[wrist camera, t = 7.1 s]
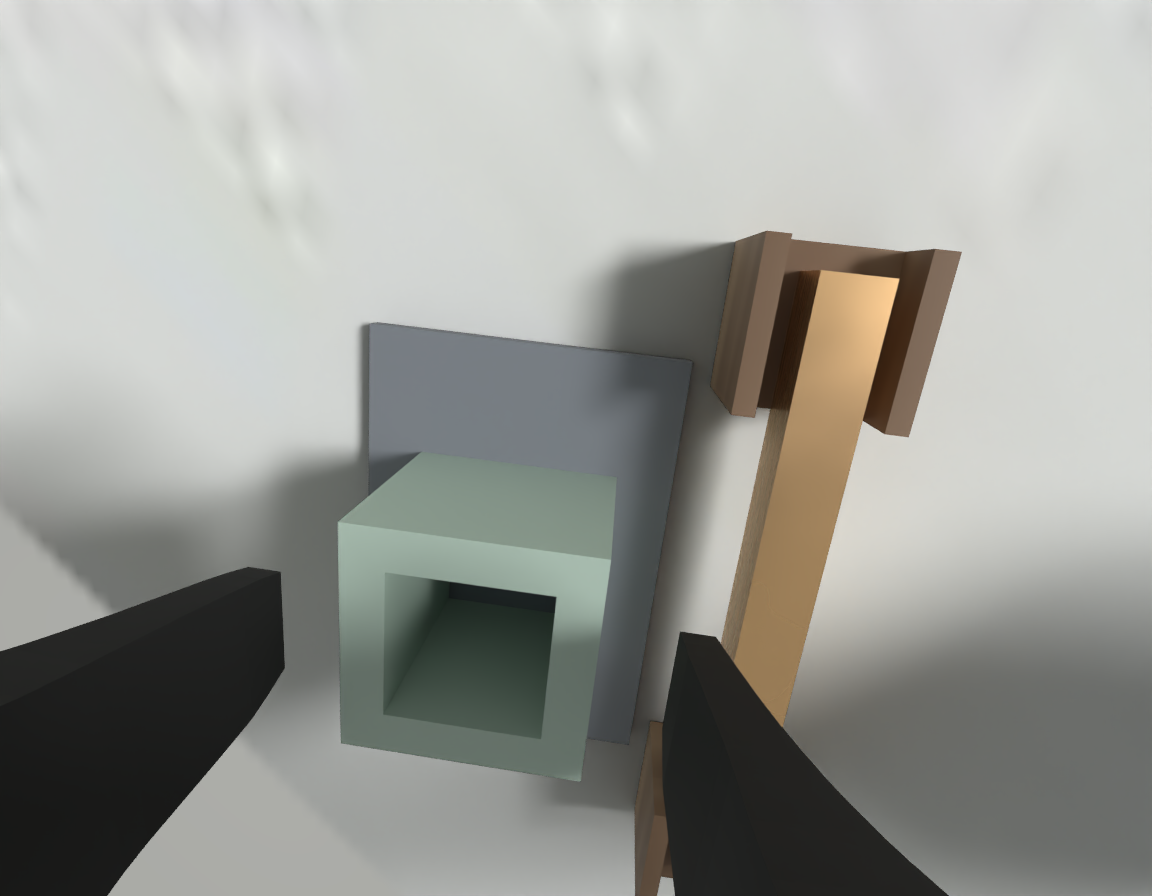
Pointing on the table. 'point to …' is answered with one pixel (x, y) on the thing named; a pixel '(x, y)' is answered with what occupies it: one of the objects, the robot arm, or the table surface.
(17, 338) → the table surface
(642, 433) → the slate mat
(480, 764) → the hollow green cube
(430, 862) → the table surface
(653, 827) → the bar stand
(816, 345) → the copper bar
